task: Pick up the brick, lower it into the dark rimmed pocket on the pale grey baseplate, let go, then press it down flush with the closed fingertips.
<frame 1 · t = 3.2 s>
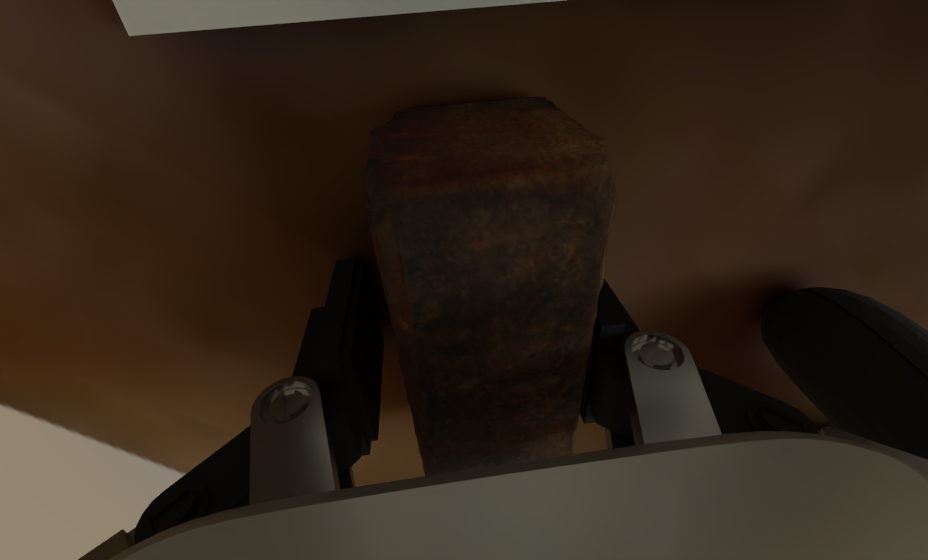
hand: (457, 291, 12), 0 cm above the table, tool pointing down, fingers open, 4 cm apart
brick: (470, 280, 13), on the table, touching gripper
gaming controller: (809, 370, 18), on the table
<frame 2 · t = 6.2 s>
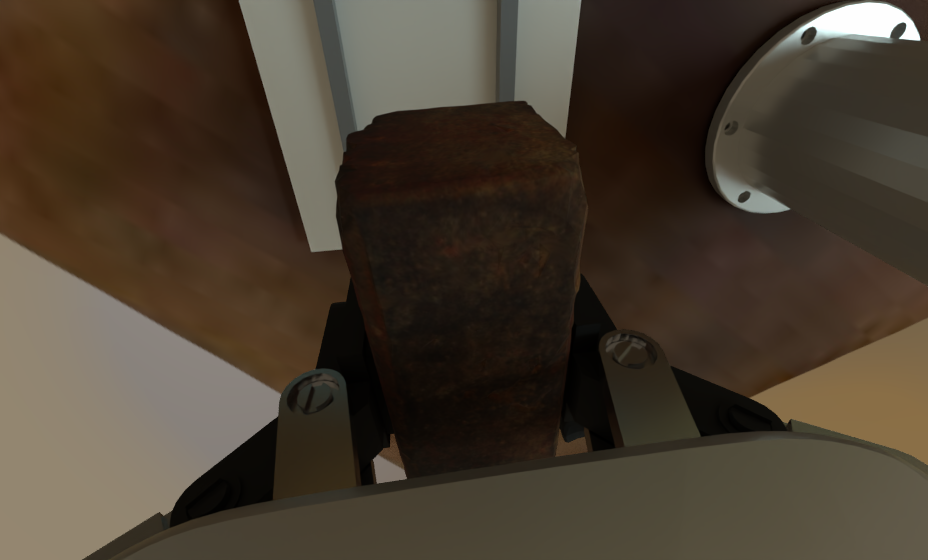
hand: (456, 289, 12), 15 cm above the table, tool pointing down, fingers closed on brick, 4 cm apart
brick: (456, 283, 13), point 15 cm above the table, touching gripper
baseplate: (425, 107, 23), on the table
gaming controller: (576, 353, 37), on the table
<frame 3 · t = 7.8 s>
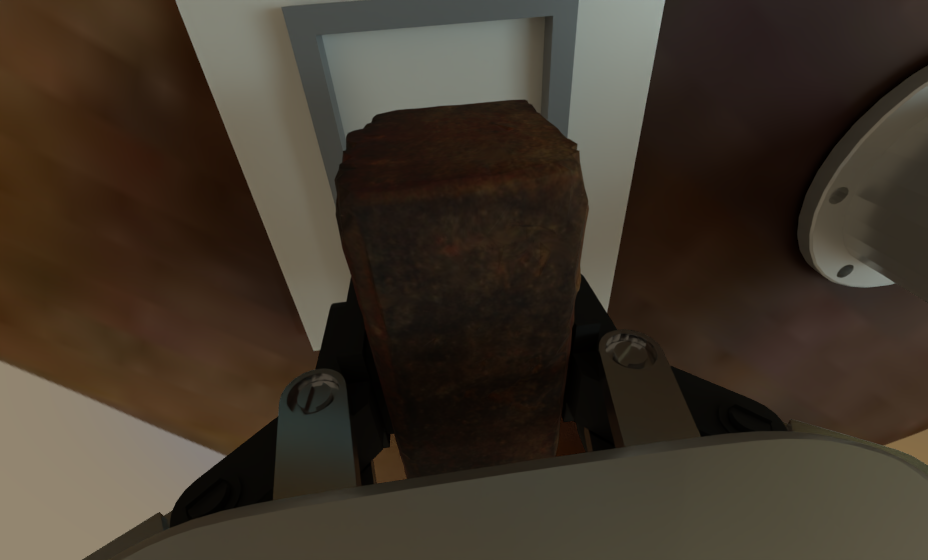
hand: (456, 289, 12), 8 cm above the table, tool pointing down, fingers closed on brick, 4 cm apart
brick: (456, 283, 12), point 7 cm above the table, touching gripper
baseplate: (448, 185, 18), on the table
when the fingers open (3 cm above the table, at t = 9.0 s): brick drops 2 cm, resting on baseplate.
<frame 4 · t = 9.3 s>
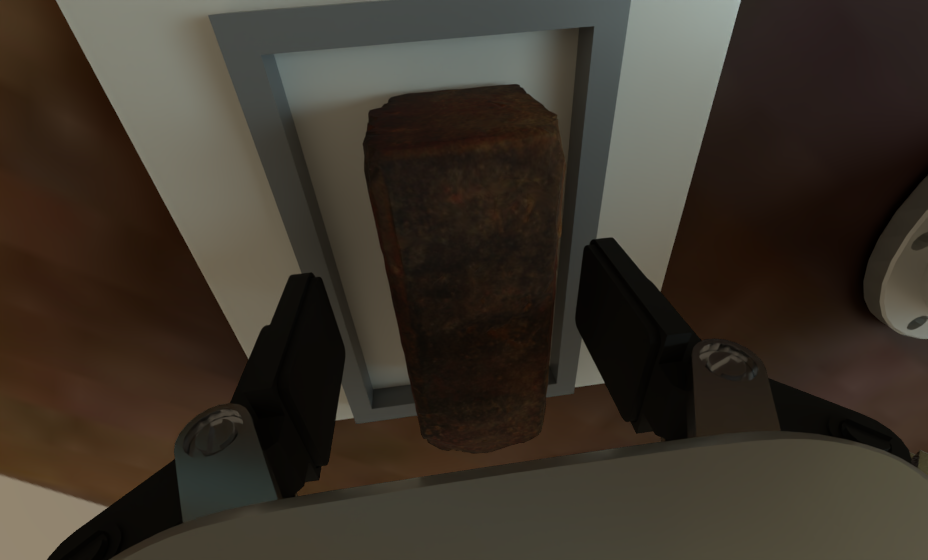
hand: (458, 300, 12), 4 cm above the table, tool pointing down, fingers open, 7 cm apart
brick: (459, 251, 14), point 1 cm above the table, touching baseplate
baseplate: (447, 235, 15), on the table
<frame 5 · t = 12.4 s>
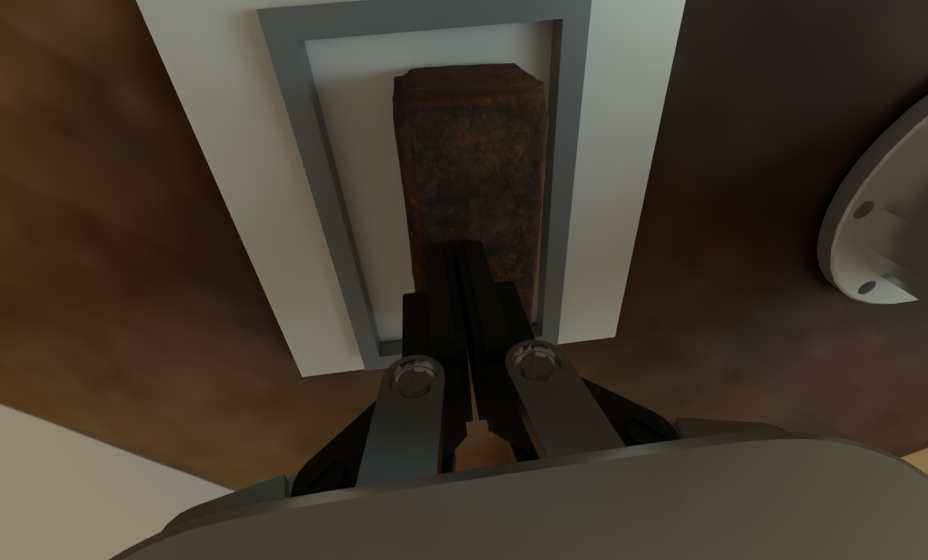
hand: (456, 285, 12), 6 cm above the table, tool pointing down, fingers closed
brick: (460, 210, 16), point 1 cm above the table, touching baseplate, gripper
baseplate: (445, 201, 17), on the table
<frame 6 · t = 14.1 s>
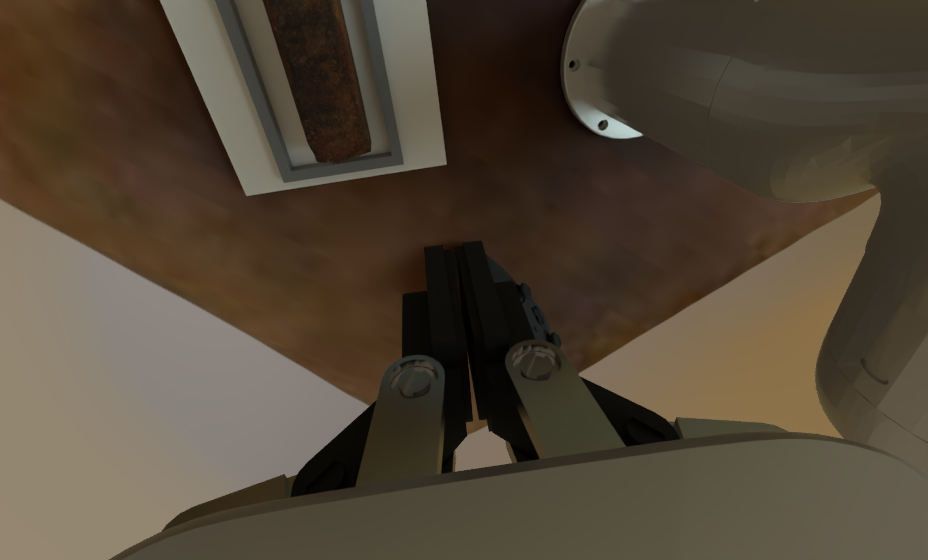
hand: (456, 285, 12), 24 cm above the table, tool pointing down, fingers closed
brick: (327, 66, 28), point 1 cm above the table, touching baseplate
baseplate: (319, 66, 29), on the table
gaming controller: (498, 282, 43), on the table
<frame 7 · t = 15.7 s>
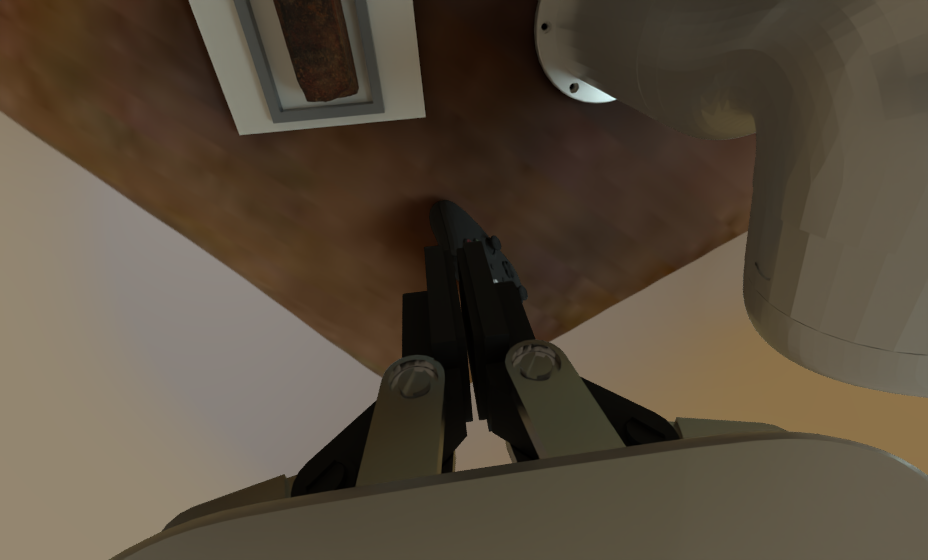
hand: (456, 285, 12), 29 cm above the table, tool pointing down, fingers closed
brick: (319, 14, 31), point 1 cm above the table, touching baseplate
baseplate: (310, 15, 32), on the table
gaming controller: (475, 240, 46), on the table
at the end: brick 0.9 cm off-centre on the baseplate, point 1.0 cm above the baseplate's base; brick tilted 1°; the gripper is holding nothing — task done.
